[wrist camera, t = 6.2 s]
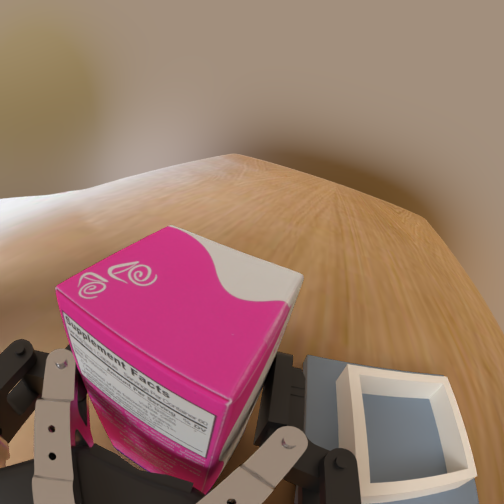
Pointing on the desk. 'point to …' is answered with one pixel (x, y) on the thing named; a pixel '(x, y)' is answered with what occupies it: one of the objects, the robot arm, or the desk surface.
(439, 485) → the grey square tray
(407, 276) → the desk surface
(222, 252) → the supplement box
